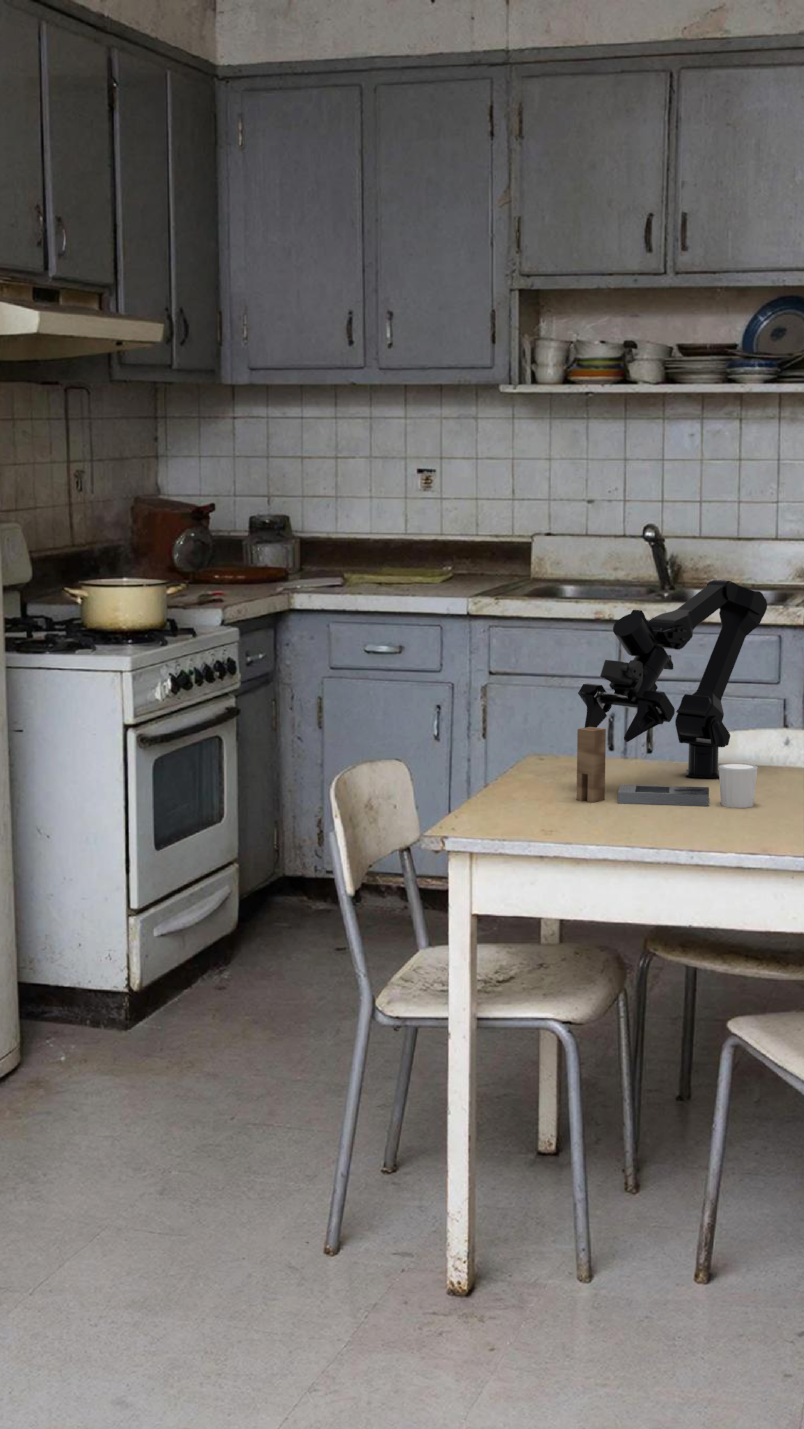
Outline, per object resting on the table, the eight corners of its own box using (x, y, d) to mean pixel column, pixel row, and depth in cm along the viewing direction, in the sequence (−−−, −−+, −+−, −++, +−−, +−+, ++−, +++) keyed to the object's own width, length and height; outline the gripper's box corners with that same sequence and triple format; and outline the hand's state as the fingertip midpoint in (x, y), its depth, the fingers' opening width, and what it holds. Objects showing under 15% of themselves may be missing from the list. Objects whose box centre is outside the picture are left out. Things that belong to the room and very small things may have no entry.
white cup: (712, 806, 298) (713, 767, 297) (724, 799, 304) (725, 761, 303) (750, 809, 295) (751, 770, 294) (761, 803, 301) (762, 764, 300)
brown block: (589, 797, 306) (590, 726, 304) (604, 799, 304) (605, 728, 302) (576, 799, 304) (577, 728, 302) (592, 802, 301) (593, 731, 299)
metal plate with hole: (619, 795, 308) (620, 783, 308) (708, 798, 305) (708, 786, 305) (617, 803, 301) (618, 791, 300) (708, 806, 298) (708, 794, 298)
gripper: (585, 640, 313) (546, 704, 307) (667, 647, 300) (627, 714, 293) (610, 678, 319) (572, 742, 313) (691, 687, 306) (653, 754, 300)
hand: (605, 737), depth 305 cm, fingers open, 9 cm apart
